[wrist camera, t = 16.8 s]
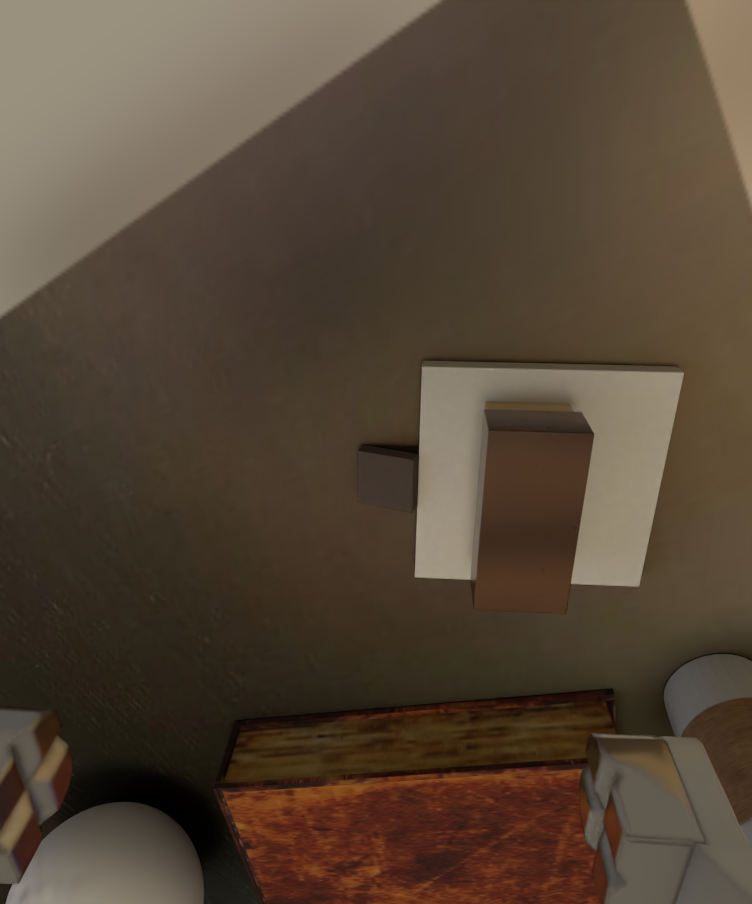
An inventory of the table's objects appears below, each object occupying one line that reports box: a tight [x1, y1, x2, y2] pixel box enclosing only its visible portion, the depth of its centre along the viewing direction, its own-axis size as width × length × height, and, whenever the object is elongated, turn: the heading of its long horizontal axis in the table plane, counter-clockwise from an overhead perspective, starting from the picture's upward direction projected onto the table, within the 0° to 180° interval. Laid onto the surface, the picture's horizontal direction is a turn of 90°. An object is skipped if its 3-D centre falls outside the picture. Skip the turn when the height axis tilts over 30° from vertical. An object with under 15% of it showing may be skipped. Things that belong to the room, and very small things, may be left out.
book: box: [213, 689, 616, 904], centre depth 45 cm, size 30×24×5 cm
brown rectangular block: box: [470, 402, 594, 614], centre depth 31 cm, size 9×4×4 cm, turn 0°
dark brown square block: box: [358, 445, 418, 513], centre depth 34 cm, size 3×3×1 cm
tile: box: [415, 361, 684, 587], centre depth 33 cm, size 12×12×1 cm
